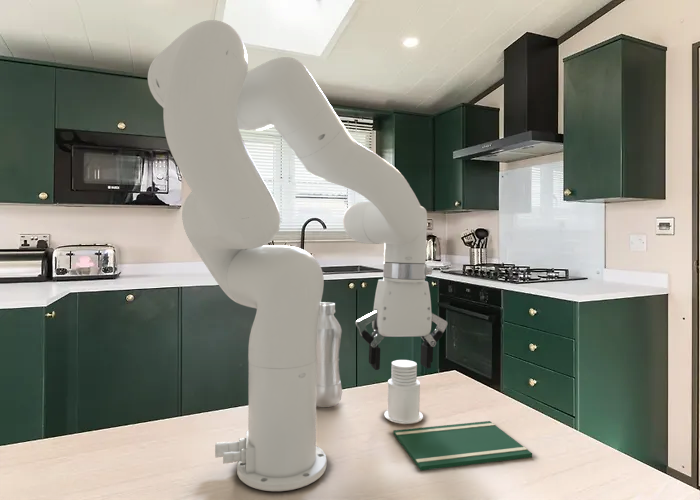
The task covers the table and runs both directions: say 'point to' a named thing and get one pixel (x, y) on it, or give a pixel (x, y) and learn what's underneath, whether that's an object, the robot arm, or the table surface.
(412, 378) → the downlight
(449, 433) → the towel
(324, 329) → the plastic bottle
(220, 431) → the table surface
